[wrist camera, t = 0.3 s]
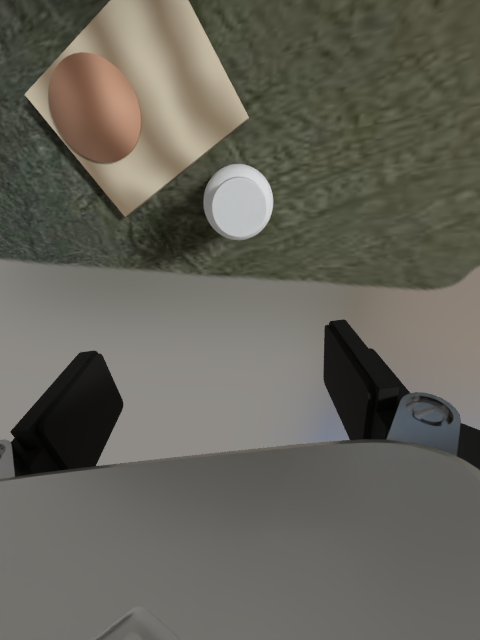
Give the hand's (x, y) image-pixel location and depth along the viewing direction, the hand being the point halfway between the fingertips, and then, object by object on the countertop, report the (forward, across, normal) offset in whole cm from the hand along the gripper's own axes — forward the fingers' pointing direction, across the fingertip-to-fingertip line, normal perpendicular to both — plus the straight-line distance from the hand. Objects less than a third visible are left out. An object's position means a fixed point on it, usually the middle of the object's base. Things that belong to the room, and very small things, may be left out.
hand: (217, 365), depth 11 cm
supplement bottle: (+28, -2, -5) cm, 28 cm away
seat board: (+28, +7, -15) cm, 32 cm away
